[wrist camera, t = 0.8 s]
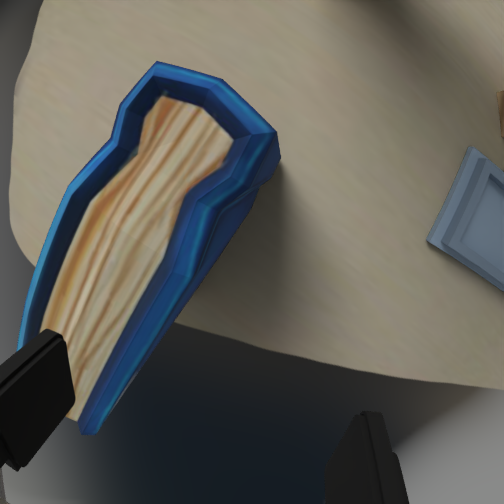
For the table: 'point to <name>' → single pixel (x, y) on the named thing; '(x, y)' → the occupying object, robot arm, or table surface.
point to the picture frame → (501, 110)
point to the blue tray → (474, 218)
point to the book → (145, 228)
